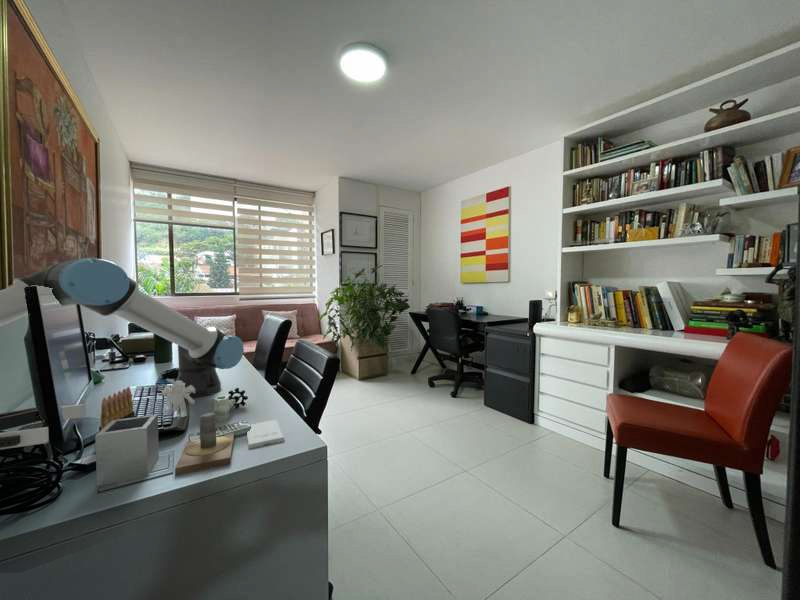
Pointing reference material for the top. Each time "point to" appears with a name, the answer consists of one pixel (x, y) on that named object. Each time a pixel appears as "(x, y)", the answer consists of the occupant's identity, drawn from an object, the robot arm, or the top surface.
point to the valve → (228, 404)
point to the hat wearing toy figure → (178, 395)
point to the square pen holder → (127, 449)
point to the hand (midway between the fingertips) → (67, 421)
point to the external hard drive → (264, 433)
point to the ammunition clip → (117, 408)
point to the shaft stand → (206, 448)
